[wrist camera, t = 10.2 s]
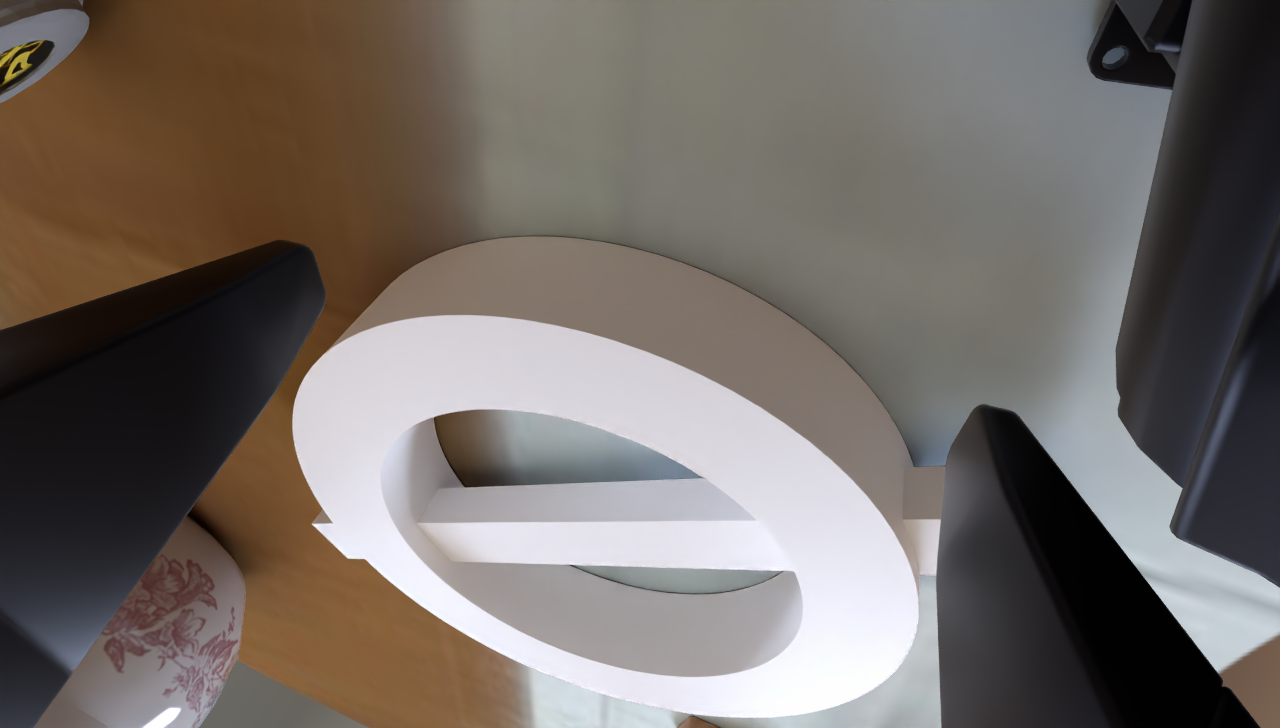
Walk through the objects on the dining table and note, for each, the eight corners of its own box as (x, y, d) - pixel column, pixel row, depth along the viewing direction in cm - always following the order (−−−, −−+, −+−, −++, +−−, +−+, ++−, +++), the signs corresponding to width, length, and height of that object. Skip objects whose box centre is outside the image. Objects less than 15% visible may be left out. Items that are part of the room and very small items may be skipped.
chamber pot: (314, 648, 68) (148, 899, 53) (57, 531, 67) (-180, 753, 53) (302, 515, 48) (31, 861, 33) (-64, 347, 47) (-501, 625, 33)
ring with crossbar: (345, 492, 43) (297, 557, 40) (374, 101, 23) (283, 165, 20) (738, 681, 45) (723, 759, 41) (1086, 464, 25) (1111, 580, 21)
